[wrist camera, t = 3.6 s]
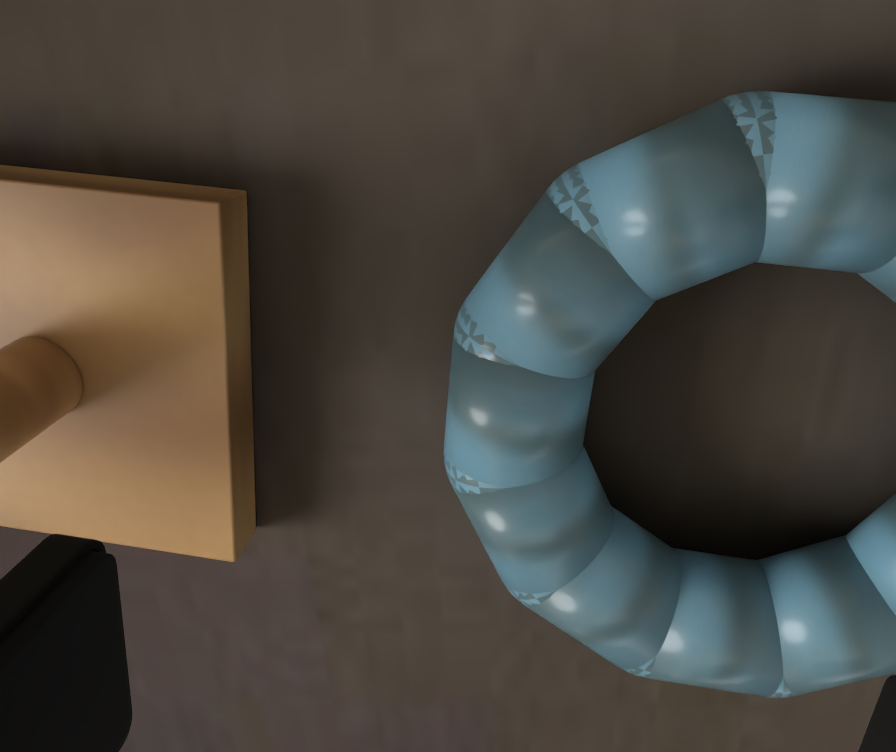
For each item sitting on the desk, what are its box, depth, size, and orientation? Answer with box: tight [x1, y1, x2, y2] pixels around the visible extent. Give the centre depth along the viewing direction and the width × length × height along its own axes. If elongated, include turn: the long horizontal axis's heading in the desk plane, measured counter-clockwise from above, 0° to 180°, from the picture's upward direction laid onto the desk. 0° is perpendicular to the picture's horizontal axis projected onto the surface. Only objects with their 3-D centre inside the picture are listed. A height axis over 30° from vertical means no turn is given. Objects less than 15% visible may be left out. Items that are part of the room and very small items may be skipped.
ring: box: [444, 91, 896, 698], centre depth 16 cm, size 13×13×3 cm
